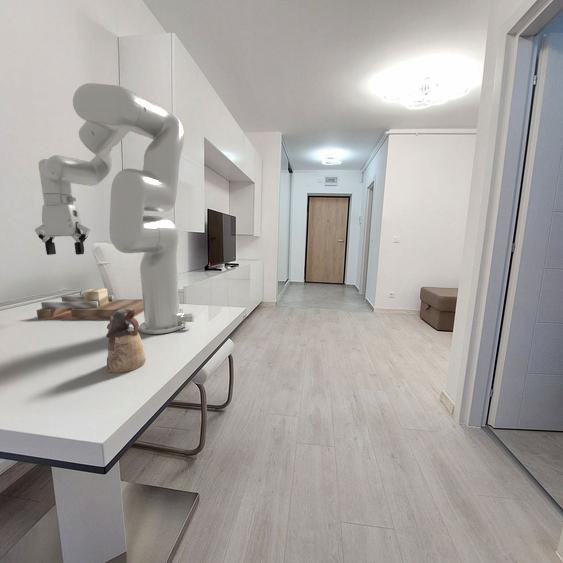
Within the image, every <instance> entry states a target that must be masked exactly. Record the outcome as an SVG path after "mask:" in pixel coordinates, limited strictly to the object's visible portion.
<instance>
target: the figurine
mask: <svg viewBox="0 0 563 563" xmlns="http://www.w3.org/2000/svg"><path fill="white" fill-rule="evenodd" d="M135 313H136V311H135V310H134V309H132V310H130V311H129V313H127V311H126V310H124V309H121V310H118V311H116V312H115V313H114V314H113V315H112V316H111V318H110V319H109V323H108V324H107V326H106V329H107V333H106V335H105V337H106V338H108V343H107V358H106V367H107V371H108V372H109V373H114V374H121V373H127V372H131V371H134V370H137V369H139V368H141V367H143V366H144V365H145V363H146V361H147V357H146V356H147V355H146V351H145V347H144V343H143V341H142V338H141V335H140V333H139V330H140V329H139V326H140V325H139V321H138V319H136V318H135V316H134V315H135ZM133 316H134V317H133ZM130 325H132V327H131V326H130Z"/></svg>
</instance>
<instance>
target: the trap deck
mask: <svg viewBox="0 0 563 563" xmlns="http://www.w3.org/2000/svg"><path fill="white" fill-rule="evenodd" d="M114 298H115V297H114V295H108V301H109V303H106V304H104V305H101V306H98V301H87V302H84V295H61V301H42V302H41V303H40V304H41V308H39V309H36V317H37V320H79V319H80V320H92V319H93V320H94V319H95V320H97V319H98V320H100V319H102V320H103V319H109V320H110V318H111V316H112V315H113V314H114V313H115V312H116V311H118V310H121V309H124V310H126V311H127V313H129V311H130V310H132V309H134V310H135V311H136V313H135V315H134V316H133V318H135V317H136V316H138V315H139V314H142V313H144V307H143V298H141V299H139V298H136V299H135V298H134V299H133V298H130V299H129V298H128V299H123V298H122V299H119V298H117V299H114Z"/></svg>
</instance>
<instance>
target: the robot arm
mask: <svg viewBox="0 0 563 563" xmlns="http://www.w3.org/2000/svg"><path fill="white" fill-rule="evenodd" d="M72 106H73V109H74V111H75V113H76V114H77V116H78V117H80V119H82V120H84V121H85V122H84V123H83V125H82V126H80V127H79V130H78V136H79V139H80V142H82V145H83V146H85V148H87V150H89V151H90V152H91V153H93V154H94V155H95V156H94V157H93V158H92V159H91V160H89V161H88V160H85V159H84V160H83V159H78V158H76V157H75V158H74V157H71V156H70V157H69V156H65V155H59V154H57V155H52V156H50V157H49V158H47V159H46V158H45V159H40V160H39V161H38V171H39V179H40V184H41V191H42V198H43V199H42V200H43V205H42V207H41V209H42V210H41V221H42V222H41V225H39V226H37V227H36V228H34V232H35V233H36V234H37V236H38V238H39V239H40V240H41V242H42V243H44V245H45V253H46V255H47V256H49V255H50V256H52V255H56V254H57V252H56V244H55V242H54V239H55V238H56V237H71V238H72V239H73V240H74V241H75V242H74V250H75V251H74V252H75V255H78V256H79V255H84V254H85V246H84V243H85V242H86V240H87V238H88V237H89V234H90V231H91V229H90V228H89V227H86V226H85V225H83V224H82V219H81V217H80V213H79V210H78V208H77V206H76V205H74V203H75V202H76V201H77V199H76V197H75V196H73V193H72V184H76V185H82V186H88V187H89V186H91V187H92V186H97V185H99V184H100V183H101V182H102V181H104V180H105V178H107V177H108V175H109V174H110V172H111V170H112V165H113V159H112V157H113V156H112V153H111V152H112V151H113V150H114V149H115V148H116V146H117V145H119V143H121V141H122V140H123V139H124V138H125V137H126V136H127V134H129V133H130V132H132V133H134V134H138V135H141V136H143V137H146V138H149V139H151V140H152V141H151V142H150V143H149V144H148V146H147V148H146V149H145V151H144V155H143V168H142V169H137V168H123V169H122V170H119V172H118V173H117V174H116V175H115V176H114V177H113V180H112V183H111V187H110V188H111V189H110V202H109V204H110V205H109V206H110V207H109V238H110V242H111V244H112V245H113V247H114V248H115V249H116V250H117V251H118V252H121V253H123V254H140V253H143V255H142V257H141V258H142V259H141V261H140V267H139V270H140V283H141V284H140V285H141V292H142V293H141V294H142V299H143V307H144V311H143V315H144V316H143V317H144V322H142V323H140V325H139V329H138V330H139V331H140V332H141V333H144V334H147V335H157V334H158V335H159V334H160V335H161V334H166V333H167V334H168V333H173V332H177V331H179V330H181V329H183V328H184V327H186V325H187V323H193V322H195V315H194V314H192V313H184V310H183V308H182V309H181V308H180V299H179V298H180V297H179V295H180V294H179V285H178V282H179V281H178V268H177V266H178V265H177V253H178V244H179V232H178V229H177V226H176V225H175V224H174V222H173V221H172V220H171V219H169V218H166V217H163V216H158V215H144V212H145V211H147V212H159V213H160V212H162V213H163V212H169V211H171V210H172V209H173V208H174V207H175V205H176V201H177V196H178V195H177V194H178V193H177V192H178V185H179V184H178V183H179V173H180V162H181V157H182V156H181V155H182V152H183V147H184V143H185V142H184V141H185V132H184V127H183V124H182V123H181V121H180V119H179V118H178V117H177V116H176V115H175V114H174V113H173V112H171V110H168V109H167V108H165V107H163V106H162V105H161V104H158V103H156V102H154V101H152V100H150V99H148V98H146V97H144V96H142V95H140V94H138V93H136V92H135V91H132V90H130V89H129V88H126V87H124V86H121V85H116V84H103V83H93V82H91V83H90V82H89V83H84V84H82V85H80V86H79V87H78V88H77V89H76V90H75V92H74V93H73V97H72Z"/></svg>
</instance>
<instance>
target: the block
mask: <svg viewBox="0 0 563 563" xmlns="http://www.w3.org/2000/svg"><path fill="white" fill-rule="evenodd" d="M82 293H83V296H84V302H87V301H98V306H101V305H104V304H106V303H109V301H108V296H109V295H108V288H90V289H87V290H85V291H84V290H83V292H82Z"/></svg>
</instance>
